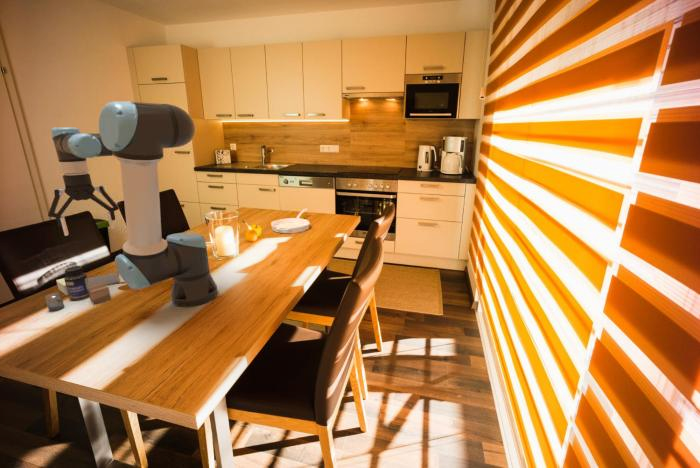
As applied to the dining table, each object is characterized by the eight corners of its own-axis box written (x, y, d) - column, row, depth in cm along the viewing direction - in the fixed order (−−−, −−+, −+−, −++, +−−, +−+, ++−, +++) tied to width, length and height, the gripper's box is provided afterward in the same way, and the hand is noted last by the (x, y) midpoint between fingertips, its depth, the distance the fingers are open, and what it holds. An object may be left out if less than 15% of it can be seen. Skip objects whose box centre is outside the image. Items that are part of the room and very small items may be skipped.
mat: (119, 283, 130) (118, 281, 130) (83, 290, 124) (83, 289, 124) (118, 273, 139) (118, 272, 139) (85, 280, 133) (85, 278, 133)
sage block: (79, 291, 124) (77, 281, 123) (66, 295, 121) (63, 285, 120) (71, 286, 128) (69, 276, 127) (58, 290, 125) (56, 280, 124)
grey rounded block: (63, 309, 111) (59, 296, 110) (48, 313, 109) (43, 299, 108) (65, 304, 114) (61, 291, 113) (50, 308, 112) (45, 294, 111)
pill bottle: (67, 302, 116) (59, 273, 112) (72, 295, 121) (64, 267, 118) (89, 298, 118) (82, 269, 115) (93, 291, 124) (85, 263, 120)
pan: (262, 233, 192) (261, 224, 190) (289, 215, 232) (289, 207, 230) (303, 236, 187) (302, 226, 186) (323, 217, 227) (323, 209, 226)
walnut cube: (111, 300, 118) (108, 287, 116) (94, 305, 114) (90, 292, 112) (107, 295, 121) (104, 282, 119) (90, 300, 117) (86, 287, 116)
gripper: (119, 170, 126) (130, 224, 132) (31, 175, 114) (48, 234, 120) (118, 172, 120) (130, 229, 126) (25, 177, 108) (43, 240, 114)
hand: (90, 231), depth 123 cm, fingers open, 13 cm apart
